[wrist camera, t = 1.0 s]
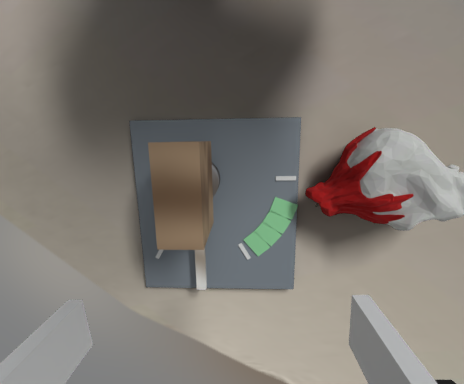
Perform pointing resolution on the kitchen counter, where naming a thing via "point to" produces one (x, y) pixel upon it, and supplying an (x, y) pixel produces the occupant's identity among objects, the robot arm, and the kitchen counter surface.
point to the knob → (184, 198)
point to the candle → (391, 182)
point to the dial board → (229, 202)
